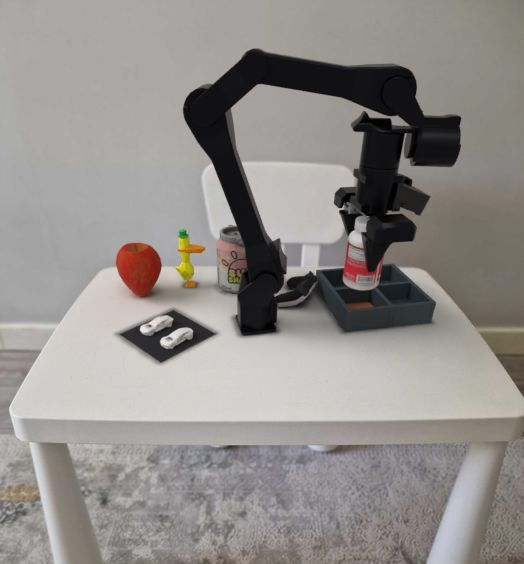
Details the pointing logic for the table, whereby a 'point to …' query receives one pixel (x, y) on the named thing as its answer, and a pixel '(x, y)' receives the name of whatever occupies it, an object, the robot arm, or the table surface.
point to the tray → (375, 300)
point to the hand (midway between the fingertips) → (363, 263)
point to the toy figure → (187, 257)
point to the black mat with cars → (167, 335)
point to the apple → (138, 267)
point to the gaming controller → (297, 290)
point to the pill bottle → (359, 261)
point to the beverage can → (230, 259)
